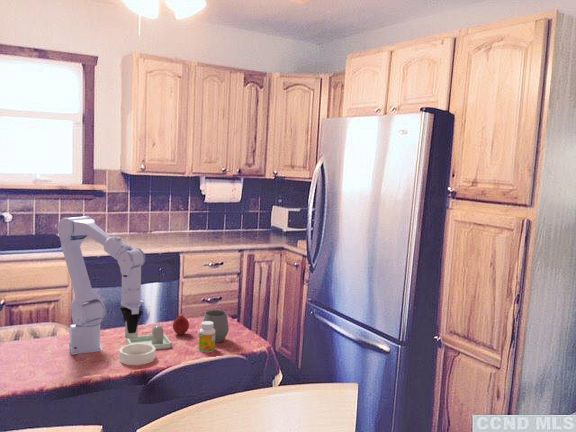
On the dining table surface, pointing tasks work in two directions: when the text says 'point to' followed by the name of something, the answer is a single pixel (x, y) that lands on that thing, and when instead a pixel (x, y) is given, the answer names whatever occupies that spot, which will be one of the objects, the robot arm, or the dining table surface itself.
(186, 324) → the onion
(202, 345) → the supplement bottle
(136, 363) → the bowl
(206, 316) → the cup
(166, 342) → the tray
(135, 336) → the stone
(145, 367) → the dining table surface
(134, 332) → the robot arm
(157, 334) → the stone
